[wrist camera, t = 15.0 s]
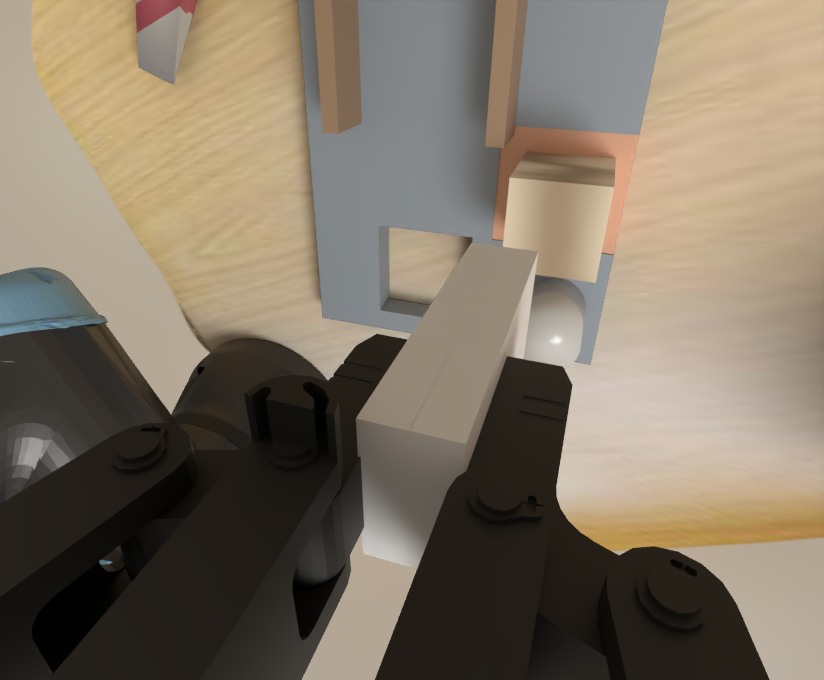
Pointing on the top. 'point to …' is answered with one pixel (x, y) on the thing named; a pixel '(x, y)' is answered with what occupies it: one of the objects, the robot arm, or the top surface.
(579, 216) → the maple cube
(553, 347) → the grey stone cylinder
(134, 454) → the robot arm
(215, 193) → the top surface
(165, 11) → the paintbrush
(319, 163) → the slate deck with cubby
